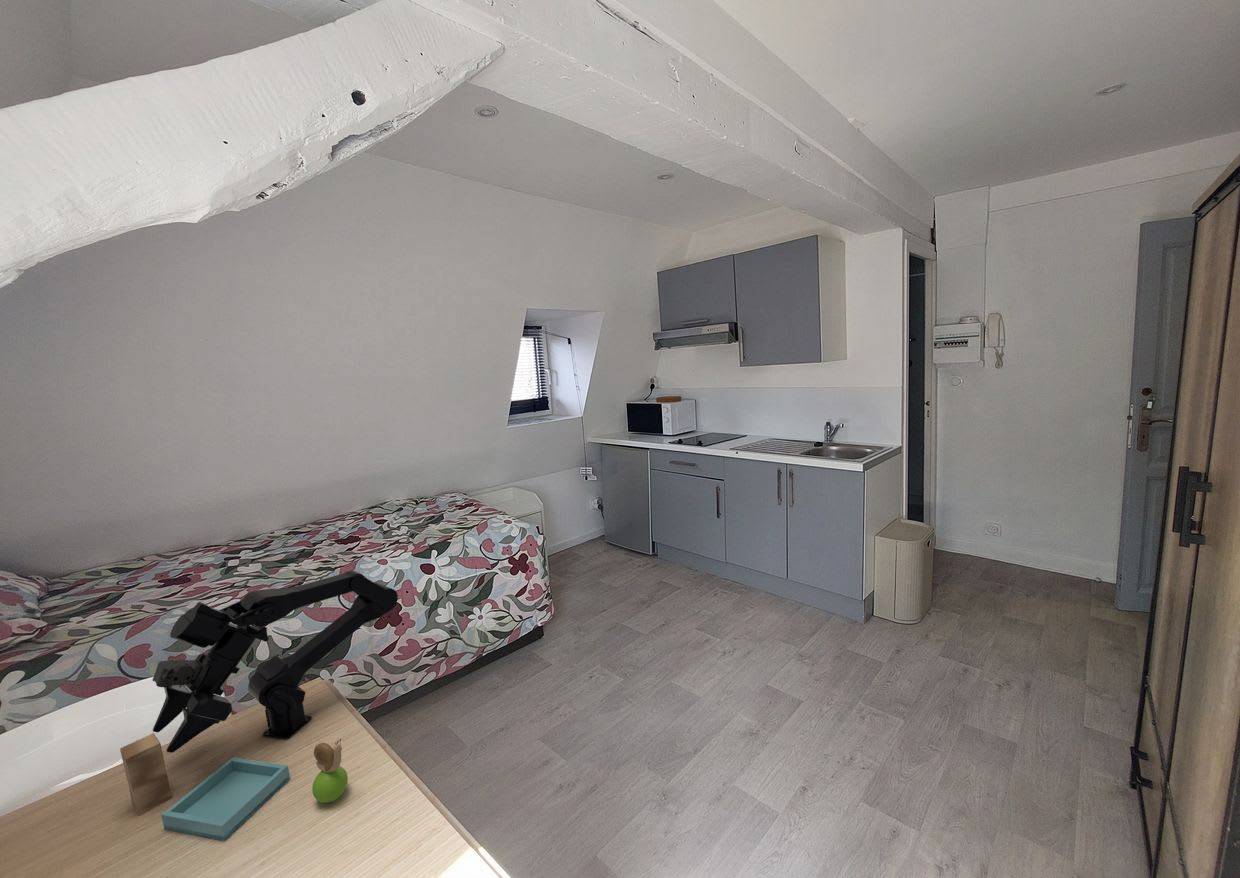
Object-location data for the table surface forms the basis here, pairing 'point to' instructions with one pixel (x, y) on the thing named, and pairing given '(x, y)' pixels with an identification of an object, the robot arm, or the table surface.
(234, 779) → the teal tray
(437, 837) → the table surface
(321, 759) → the snail figurine
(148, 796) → the walnut block
